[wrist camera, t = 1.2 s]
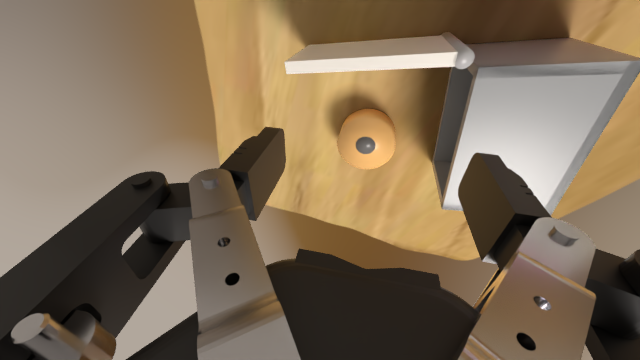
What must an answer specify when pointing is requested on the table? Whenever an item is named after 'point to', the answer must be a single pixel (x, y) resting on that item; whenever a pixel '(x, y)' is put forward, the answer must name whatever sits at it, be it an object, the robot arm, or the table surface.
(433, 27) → the table surface
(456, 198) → the box
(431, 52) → the cover
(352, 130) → the tan donut
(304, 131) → the table surface
